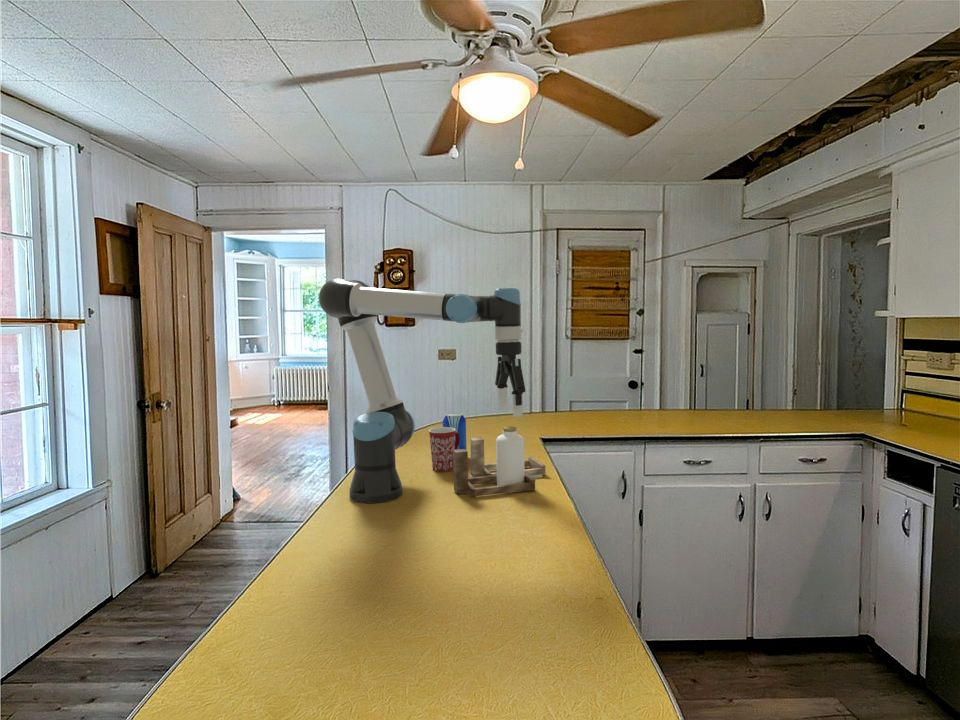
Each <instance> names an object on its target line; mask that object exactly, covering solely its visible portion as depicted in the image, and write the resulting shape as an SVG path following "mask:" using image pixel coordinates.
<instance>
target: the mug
mask: <svg viewBox="0 0 960 720" xmlns="http://www.w3.org/2000/svg"><path fill="white" fill-rule="evenodd" d="M428 434H429V444H430V454H431V455H430V456H431V462H432V463H431V465H432V466H431V467H432V470H433V471H434V472H439V473H443V472H445V473H446V472H451V471H454V469H453V450H458V447H459V442H460V435H459V433H458V432H456V429H454V428H450V427H443V426H442V427H441V426H440V427H434V428H430V429H428Z"/></svg>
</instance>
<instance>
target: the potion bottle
mask: <svg viewBox="0 0 960 720" xmlns="http://www.w3.org/2000/svg"><path fill="white" fill-rule="evenodd" d="M495 446H496V447H495V454H496V456H495V459H496V462H495V463H497V470H496V472H497V482H496V486H500V485H509V484H519V483H525V469H526V467H524V460H525V439H524V437H523V436H522V435H520V434H518V427H516V426H503V427H502V434H500V435H499V436H497V437H496V439H495Z"/></svg>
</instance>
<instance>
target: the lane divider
mask: <svg viewBox="0 0 960 720" xmlns="http://www.w3.org/2000/svg"><path fill="white" fill-rule="evenodd" d="M530 476H531V477H532V478H533V479H539V478H543V476H544V475H542V474H539V475H530Z"/></svg>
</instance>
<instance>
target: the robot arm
mask: <svg viewBox="0 0 960 720" xmlns="http://www.w3.org/2000/svg"><path fill="white" fill-rule="evenodd" d="M520 296H521V293H520V290H519V289H518V288H517V287H501V288H499V287H498V288H495V289H494V291H493V295H492V294H491V295H477V296H475V295H468V294H464V293H463V294H462V293H459V294H458V293H457V294H456V293H446V292H445V293H443V292H434V291H433V292H431V291H419V290H417V291H416V290H404V289H395V288H394V289H393V288H392V289H391V288H379V287H378V288H377V287H371V286H370V285H369V284H367V283H365V282H363V281H360V280H358V279H357V280H355V279H345V278H333V279H331V280H328V281H327V282H325V283H324V284H323V285H322V287H321V289H320V290H319V294H318V302H319V305H320V307H321V309H322V310H323V312H324V313H325V314H327V315H328V316H329V317H333V318H337V321H338V323H339V326H340V328H341V330H343V331H345V332H346V333H347V336H348V339H349V342H350V346H351V349H352V352H353V355H354V358H355V361H356V365H357V369H358V371H359V375H360V379H361V382H362V384H363V388H364V391H365V394H366V398H367V401H368V404H369V406H368V409H367V410H366V413H364V414H361V415H358V416H357V417H356V418H355V419H354V420H353V427H352V437H353V439H352V440H353V454H354V455H353V456H354V458H353V459H354V460H353V461H354V473H353V475H352V479H351V483H350V487H349V493H348V494H349V499H350V500H351V501H353V502H354V503H355V502H356V503H360V504H362V503H363V504H378V503H386V502H390V501H394V500H396V499H399V498H400V497H402V495H403V484H402V481H401V478H400V476H399V473H398V470H397V467H396V450H397V449H400V448H401V447H403V446H405V445H406V444H407V443H408V442H409V441H410V440H411V438H412V437H413V435H414V432H415V429H416V428H415V427H416V425H415V419H414V417H413V416H412V414H411V413H410V412H409V411H407V410H406V408H405V404H404V402H403V400H402V399H400V398H398V397H397V395H396V392H395V388H394V385H393V382H392V379H391V376H390V373H389V369H388V366H387V362H386V359H385V356H384V352H383V350H382V347H381V342H380V338H379V335H378V333H377V328H376V327H375V323H376V321H377V320H378V316H385V317H396V318H398V317H399V318H410V319H420V320H421V319H422V320H435V321H443V322H444V321H446V322H455V323H458V324H459V323H460V324H466V323H477V322H479V323H480V322H482V323H483V322H494V323H495V325H494V333H495V334H494V335H495V336H494V337H495V341H496V342H495V353H496V355H497V367H496V368H497V369H496V372H495V373H496V374H495V381H494V383H495V386H496V388H497V402H498V403H497V406H498V407H497V408H498V411H501V410H502V411H504V410H508V384H507V383H508V379H509V381H510V384H511V387H512V391H511V395H512V417H513V418H521V417H522V418H523V416H524V409H523V407H524V406H523V394H524V393H526V385H525V380H524V374H523V370H522V362H521V361H522V360H521V358H517V355H518V356H519V355H521V354H522V342H521V341H520V340H521V339H522V332H523V328H522V327H521V326H522V324H521V321H522V318H521V315H522V314H521V313H522V312H521V307H522V306H521V297H520Z"/></svg>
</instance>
